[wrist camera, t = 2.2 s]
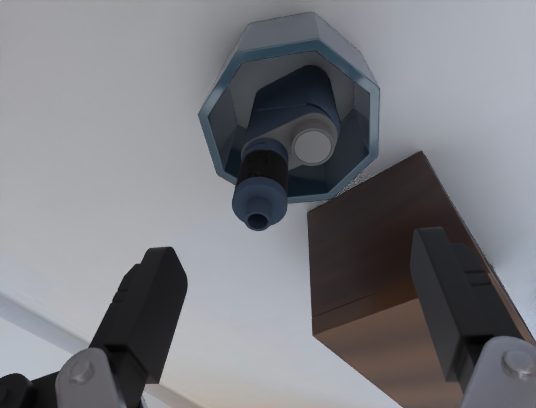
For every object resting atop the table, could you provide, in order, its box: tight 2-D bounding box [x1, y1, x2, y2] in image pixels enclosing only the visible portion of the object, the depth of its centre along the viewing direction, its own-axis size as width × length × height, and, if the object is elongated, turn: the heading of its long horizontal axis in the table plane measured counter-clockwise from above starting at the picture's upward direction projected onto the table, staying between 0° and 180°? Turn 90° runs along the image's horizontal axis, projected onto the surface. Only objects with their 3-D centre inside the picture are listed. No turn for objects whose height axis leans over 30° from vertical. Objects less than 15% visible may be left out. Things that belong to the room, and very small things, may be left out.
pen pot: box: [198, 12, 380, 204], centre depth 20 cm, size 9×9×6 cm
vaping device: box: [232, 65, 340, 231], centre depth 18 cm, size 3×5×12 cm, turn 118°
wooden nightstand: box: [307, 151, 536, 408], centre depth 26 cm, size 16×10×11 cm, turn 39°
